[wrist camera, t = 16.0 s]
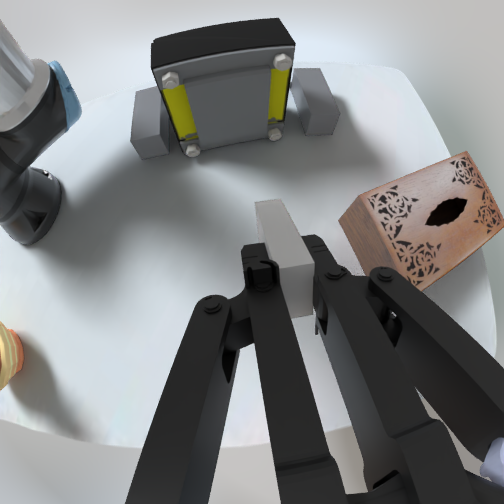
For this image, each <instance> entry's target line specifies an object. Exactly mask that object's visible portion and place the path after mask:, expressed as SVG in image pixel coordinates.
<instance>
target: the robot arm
mask: <svg viewBox="0 0 504 504" xmlns="http://www.w3.org/2000/svg"><path fill="white" fill-rule="evenodd" d="M81 113H82V109H81V105H80V103H79V100H78V98H77V95H76V93H75V91H74V89H73V88H72V87H71V84H70V82H69V79H68V77H67V76H66V74H65V72H64V70H63V68H62V67H61V66H60V64H59V63H58V62H57V61H52V62H51V63H48V64H47V63H46V62H44V61H43V60H41V59H32V60H30V59H29V58H28V57H27V56H26V54H25V53H24V51H23V50H22V49H21V47H20V46H19V45H18V43H17V42H16V41H15V39H14V38H13V37H12V35H11V34H10V33H9V31H8V30H7V28H6V27H5V25H4V24H3V23H2V21H1V20H0V225H1V226H2V228H3V229H4V230H5V231H6V232H7V233H8V234H9V236H10V237H11V238H12V239H13V240H15V241H17V242H19V243H22V244H32V243H35V242H36V241H38V240H39V239H41V238H42V237H43V236H44V235H45V234H46V233H47V231H48V230H49V229H50V227H51V225H52V224H53V222H54V220H55V218H56V215H57V213H58V210H59V206H60V201H61V188H60V184H59V182H58V180H57V179H56V178H55V177H54V176H53V175H52V174H51V173H49V172H48V171H46V170H42V169H38V168H34V167H29V166H30V165H31V164H32V163H33V162H34V161H35V160H36V159H37V158H38V157H39V156H40V155H41V154H42V153H43V152H44V151H45V150H46V149H47V148H48V147H50V146H51V145H52V144H53V143H54V142H55V141H56V140H57V139H58V138H60V137H61V136H62V135H63V134H64V133H66V132H67V131H68V130H69V128H70V127H71V126H72V125H73V124H74V123H75V122H76V121H78V120H79V118H80V116H81ZM255 209H256V218H257V228H258V237H259V243H257V244H250V245H244V247H243V248H242V250H241V257H242V264H243V272H244V279H245V288H244V290H243V291H242V292H241V293H240V294H239V295H237V296H235V297H233V298H231V299H227V298H226V297H224V296H221V295H209V296H207V297H204V298H202V299H201V300H200V301H198V303H197V304H196V306H195V308H194V311H193V313H192V316H191V318H190V321H189V323H188V326H187V328H186V331H185V334H184V336H183V339H182V341H181V344H180V347H179V349H178V352H177V354H176V357H175V360H174V362H173V365H172V368H171V370H170V373H169V376H168V379H167V381H166V384H165V387H164V389H163V392H162V395H161V398H160V401H159V403H158V406H157V409H156V412H155V415H154V417H153V420H152V423H151V426H150V429H149V432H148V435H147V438H146V440H145V443H144V446H143V449H142V453H141V456H140V459H139V461H138V464H137V468H136V470H135V474H134V477H133V480H132V483H131V486H130V489H129V492H128V496H127V499H126V502H125V504H208V501H209V497H210V492H211V487H212V482H213V478H214V473H215V469H216V464H217V459H218V455H219V450H220V445H221V440H222V436H223V431H224V426H225V421H226V416H227V412H228V407H229V402H230V397H231V392H232V387H233V382H234V378H235V373H236V368H237V363H238V358H239V353H240V349H241V348H243V347H246V346H248V345H250V344H253V343H254V344H255V350H256V357H257V363H258V369H259V375H260V382H261V388H262V394H263V400H264V406H265V412H266V418H267V424H268V430H269V436H270V442H271V448H272V454H273V460H274V466H275V471H276V477H277V483H278V489H279V494H280V500H281V504H504V369H503V367H502V366H501V365H500V364H499V363H498V362H497V361H496V360H495V359H494V358H493V357H492V356H491V355H490V354H489V353H488V352H487V351H486V350H485V349H484V348H483V347H482V346H481V345H480V344H479V343H478V342H477V341H476V340H475V339H474V338H473V337H471V336H470V335H469V334H468V333H467V332H466V331H465V330H464V329H463V328H462V327H461V326H460V325H459V324H458V323H456V322H455V321H454V320H453V319H452V318H451V317H450V316H449V315H448V314H446V313H445V312H444V311H443V310H442V309H441V308H440V307H439V306H437V305H436V304H435V303H434V302H433V301H432V300H431V299H429V298H428V297H427V296H426V295H425V294H424V293H422V292H421V291H420V290H419V289H418V288H416V287H415V286H414V285H413V284H412V283H410V282H409V281H408V280H407V279H406V278H404V277H403V276H402V275H401V274H400V273H398V272H397V271H396V270H394V269H392V268H389V267H384V266H380V267H375V268H374V269H372V270H371V272H370V273H369V276H355V275H351V273H350V272H349V271H348V270H347V269H346V268H345V267H343V266H340V265H338V264H337V262H336V261H335V259H334V257H333V256H332V254H331V253H330V251H329V249H328V248H327V246H326V245H325V243H324V241H323V240H322V239H321V238H320V237H318V236H317V235H315V234H314V235H307V236H300V234H299V232H298V230H297V228H296V226H295V224H294V222H293V221H292V219H291V217H290V215H289V213H288V211H287V209H286V208H285V206H284V204H283V202H282V200H281V199H275V200H268V201H260V202H255ZM313 306H314V309H315V311H316V323H315V335H318V329H319V332H320V335H321V338H322V340H323V343H324V346H325V349H326V351H327V354H328V357H329V360H330V362H331V365H332V368H333V371H334V374H335V376H336V379H337V382H338V385H339V388H340V391H341V394H342V397H343V399H344V402H345V405H346V408H347V411H348V414H349V417H350V420H351V423H352V426H353V429H354V432H355V435H356V438H357V442H358V445H359V448H360V451H361V454H362V457H363V461H364V471H363V472H364V479H365V483H366V486H367V489H368V492H367V493H357V494H345V490H344V486H343V482H342V479H341V475H340V471H339V468H338V465H337V463H336V461H335V459H334V458H333V457H332V456H331V454H330V452H329V449H328V445H327V442H326V438H325V435H324V431H323V427H322V424H321V420H320V417H319V413H318V410H317V406H316V402H315V399H314V395H313V392H312V388H311V385H310V382H309V378H308V375H307V371H306V368H305V364H304V361H303V358H302V354H301V351H300V347H299V344H298V341H297V337H296V334H295V331H294V327H293V324H292V321H291V318H297V317H302V316H308V315H313ZM392 311H393V312H394V313H395V314H396V315H397V316H396V317H395V316H394V315H393V314H392ZM414 386H415V387H416V389H417V390H418V391H419V392H420V393H421V394H422V396H423V397H424V398H425V399H426V400H427V402H428V403H429V404H430V405H431V406H432V408H433V409H434V410H435V411H436V413H437V414H438V415H439V416H440V417H441V419H442V420H443V421H444V422H445V424H446V425H447V426H448V427H449V428H450V430H451V431H452V432H453V433H454V435H455V436H456V437H457V438H458V440H459V441H460V442H461V443H462V444H463V446H464V447H465V448H466V449H467V450H468V451H469V452H470V453H471V454H473V455H474V456H475V457H476V458H478V459H479V460H481V461H482V462H484V463H483V464H482V465H481V467H480V474H481V476H483V477H489V478H490V479H491V480H492V482H491V481H489V480H487V479H484V478H482V477H480V476H477V475H475V474H473V473H471V472H469V471H467V470H465V469H464V467H463V464H462V462H461V460H460V457H459V455H458V452H457V450H456V448H455V445H454V443H453V441H452V439H451V437H450V434H449V432H448V430H447V428H446V426H445V425H444V423H443V422H441V421H440V420H437V419H432V418H431V417H429V415H428V414H427V411H426V409H425V407H424V405H423V403H422V401H421V399H420V397H419V395H418V393H417V391H416V389H415V387H414Z"/></svg>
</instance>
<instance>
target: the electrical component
mask: <svg viewBox="0 0 504 504" xmlns="http://www.w3.org/2000/svg"><path fill="white" fill-rule="evenodd" d="M153 42H154V43H151V70H152V73H153V75H154V78H155V81H156V83H157V86H158V89H159V92H160V94H161V97H162V100H163V102H164V105H165V107H166V110H167V113H168V115H169V118H170V121H171V123H172V126H173V128H174V131H175V134H176V136H177V139H178V141H179V144H180V146H181V149H182V152H183V153H184V155H186V154H187V155H188V156H189V157H196V156H198V155H199V153H200V151H202V150H207V149H211V148H216V147H220V146H225V145H230V144H235V143H240V142H245V141H251V140H256V139H262V138H268V137H269V139H270V140H272V141H276V140H279V139H280V138H281V137H282V134H283V128H284V121H285V114H286V107H287V100H288V93H289V87H290V80H291V73H292V66H293V59H294V52H295V44H296V43H295V42H294V40H293V39H292V37H291V36H290V34H289V33H288V31H287V29H286V28H285V27H284V25H283V24H282V22H281V21H280V19H279V18H270V19H258V20H257V19H256V20H248V21H239V22H231V23H224V24H218V25H212V26H207V27H202V28H197V29H192V30H187V31H183V32H179V33H175V34H171V35H167V36H163V37H160V38H156V39H155V40H153Z"/></svg>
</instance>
